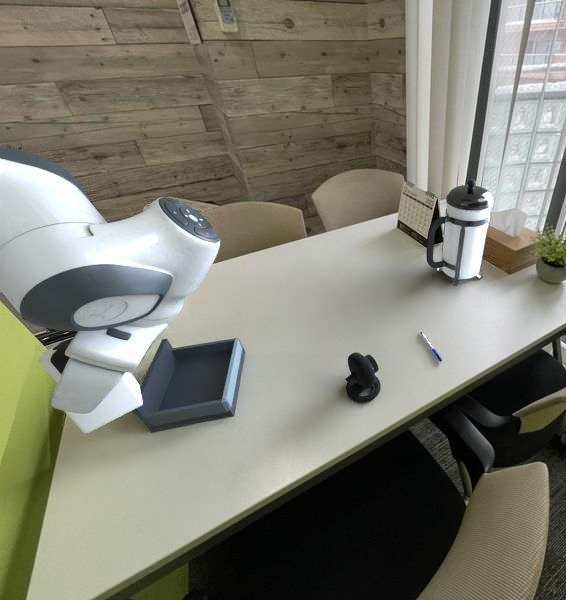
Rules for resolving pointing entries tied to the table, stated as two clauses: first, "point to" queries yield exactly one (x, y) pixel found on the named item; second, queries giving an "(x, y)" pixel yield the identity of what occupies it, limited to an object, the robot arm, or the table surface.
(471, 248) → the coffee press
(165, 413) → the drawer
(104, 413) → the medicine bottle
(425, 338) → the ballpoint pen
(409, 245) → the table surface
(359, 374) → the webcam
